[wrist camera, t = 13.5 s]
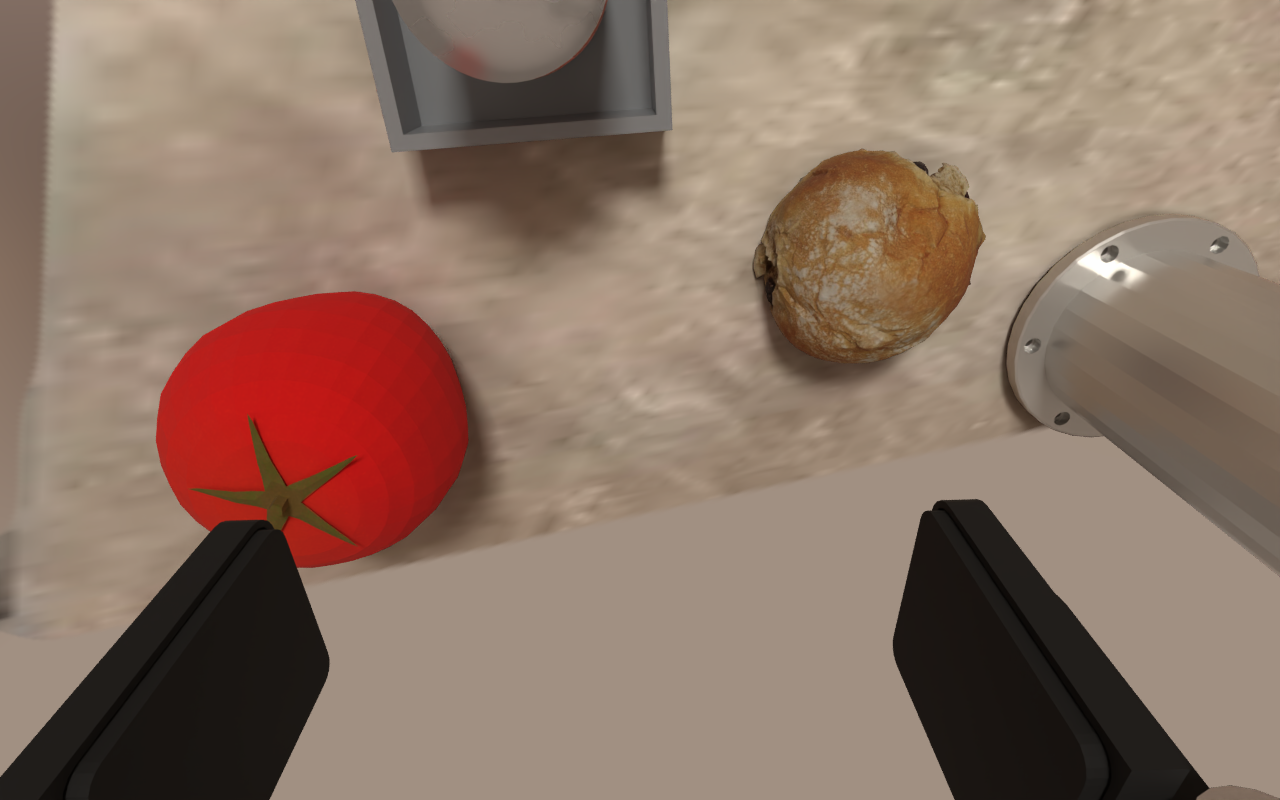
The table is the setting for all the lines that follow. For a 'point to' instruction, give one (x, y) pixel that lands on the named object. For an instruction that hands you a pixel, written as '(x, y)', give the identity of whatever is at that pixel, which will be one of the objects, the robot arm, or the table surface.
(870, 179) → the bread roll
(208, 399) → the tomato
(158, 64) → the table surface
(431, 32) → the red drink can
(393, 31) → the crate
